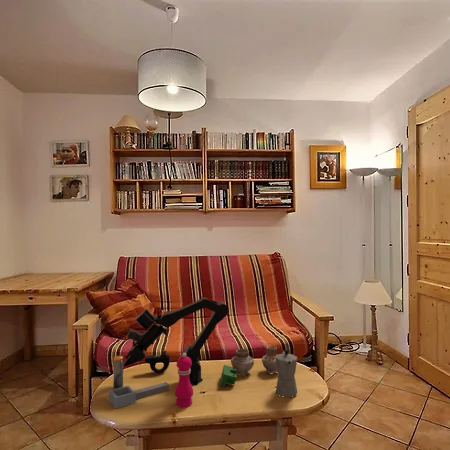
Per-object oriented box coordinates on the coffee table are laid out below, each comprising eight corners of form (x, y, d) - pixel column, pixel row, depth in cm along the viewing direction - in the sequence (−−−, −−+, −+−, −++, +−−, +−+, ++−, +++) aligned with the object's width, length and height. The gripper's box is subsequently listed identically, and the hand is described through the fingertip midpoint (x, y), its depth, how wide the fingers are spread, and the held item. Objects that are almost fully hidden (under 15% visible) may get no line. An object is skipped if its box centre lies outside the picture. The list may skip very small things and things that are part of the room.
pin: (124, 386, 156) (125, 356, 156) (118, 390, 152) (118, 359, 152) (117, 384, 157) (118, 355, 157) (111, 388, 154) (111, 358, 154)
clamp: (231, 395, 156) (236, 380, 153) (218, 392, 156) (223, 377, 153) (234, 375, 167) (238, 360, 164) (221, 372, 167) (226, 357, 164)
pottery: (284, 376, 167) (284, 350, 167) (232, 378, 164) (232, 352, 165) (278, 367, 178) (278, 343, 178) (229, 369, 176) (229, 345, 176)
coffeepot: (301, 400, 143) (301, 355, 143) (278, 400, 142) (278, 355, 143) (292, 384, 158) (292, 343, 159) (271, 384, 158) (271, 343, 158)
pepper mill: (176, 399, 143) (176, 349, 144) (194, 399, 143) (194, 349, 144) (173, 408, 136) (173, 355, 137) (192, 408, 136) (192, 356, 136)
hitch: (163, 385, 156) (163, 376, 156) (171, 392, 150) (171, 382, 150) (109, 400, 142) (109, 390, 142) (115, 408, 136) (115, 397, 136)
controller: (170, 373, 170) (170, 352, 171) (144, 375, 168) (144, 354, 168) (170, 369, 175) (170, 349, 175) (144, 371, 172) (144, 351, 172)
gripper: (139, 318, 166) (114, 343, 164) (137, 328, 148) (109, 356, 145) (156, 334, 167) (131, 359, 165) (156, 346, 149) (128, 374, 147)
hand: (125, 361), depth 155 cm, fingers open, 9 cm apart
